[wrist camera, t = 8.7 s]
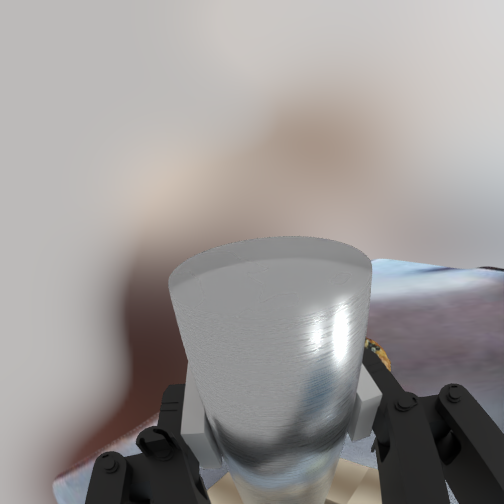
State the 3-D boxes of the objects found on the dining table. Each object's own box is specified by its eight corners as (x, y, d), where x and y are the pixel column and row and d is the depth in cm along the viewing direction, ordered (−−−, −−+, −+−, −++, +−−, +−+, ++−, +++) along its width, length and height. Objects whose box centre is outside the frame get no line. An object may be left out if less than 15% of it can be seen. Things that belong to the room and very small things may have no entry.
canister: (276, 452, 15) (253, 231, 10) (341, 480, 12) (391, 245, 7) (226, 500, 11) (132, 281, 7) (295, 539, 8) (310, 351, 3)
